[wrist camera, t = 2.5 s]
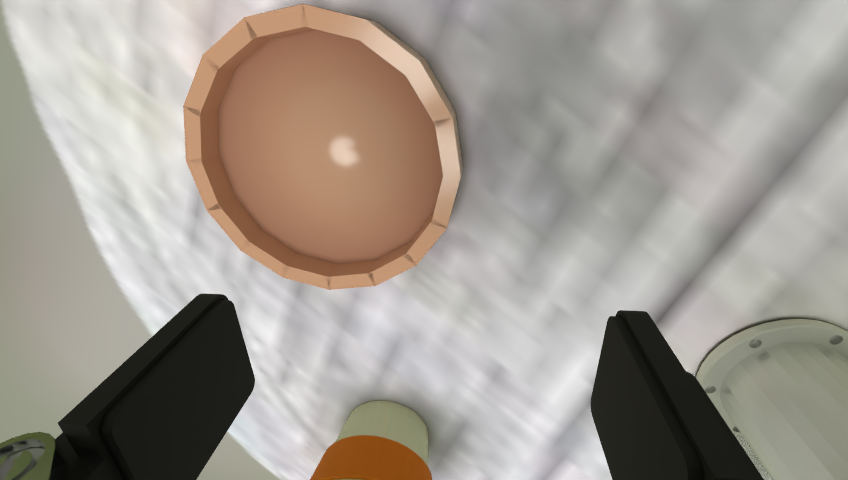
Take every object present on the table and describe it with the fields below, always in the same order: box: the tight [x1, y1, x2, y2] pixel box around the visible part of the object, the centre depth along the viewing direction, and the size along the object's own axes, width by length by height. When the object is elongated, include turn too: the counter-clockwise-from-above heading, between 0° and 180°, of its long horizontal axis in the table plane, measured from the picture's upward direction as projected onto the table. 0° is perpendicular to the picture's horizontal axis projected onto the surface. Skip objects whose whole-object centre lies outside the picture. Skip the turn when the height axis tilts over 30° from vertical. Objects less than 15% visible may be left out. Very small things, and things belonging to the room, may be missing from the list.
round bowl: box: [183, 4, 463, 290], centre depth 30 cm, size 20×20×3 cm
